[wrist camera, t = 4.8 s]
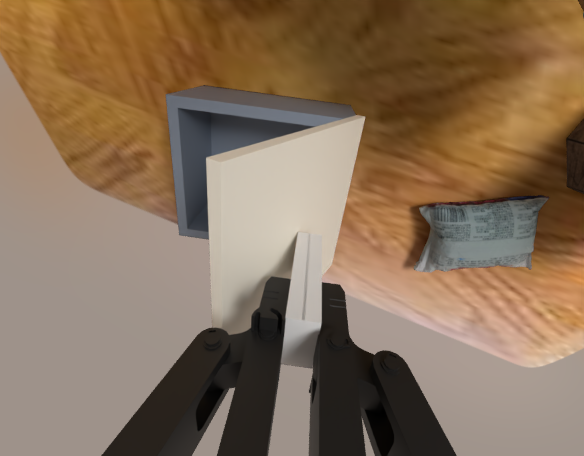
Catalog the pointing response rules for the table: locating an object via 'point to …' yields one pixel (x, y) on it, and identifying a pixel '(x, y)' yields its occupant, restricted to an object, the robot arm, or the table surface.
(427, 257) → the packaged food
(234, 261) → the lid
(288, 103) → the box
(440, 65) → the table surface
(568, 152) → the mug
